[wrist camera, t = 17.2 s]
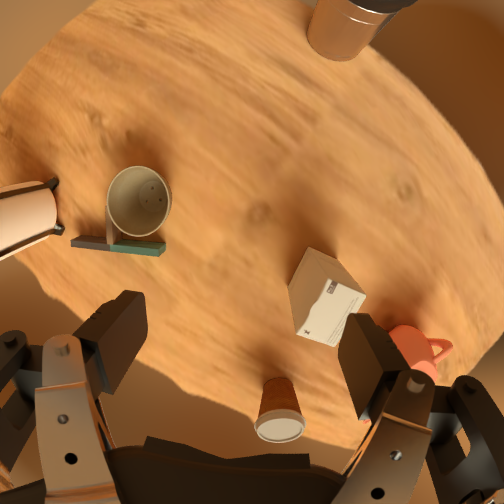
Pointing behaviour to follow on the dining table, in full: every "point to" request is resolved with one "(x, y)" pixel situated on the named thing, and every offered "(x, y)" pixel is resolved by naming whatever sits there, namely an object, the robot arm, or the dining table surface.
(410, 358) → the teapot
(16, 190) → the coffee press
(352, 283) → the skincare box
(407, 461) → the robot arm
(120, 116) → the dining table surface
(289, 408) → the disposable coffee cup
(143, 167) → the flower pot
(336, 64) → the dining table surface
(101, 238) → the t-shaped slab assembly
